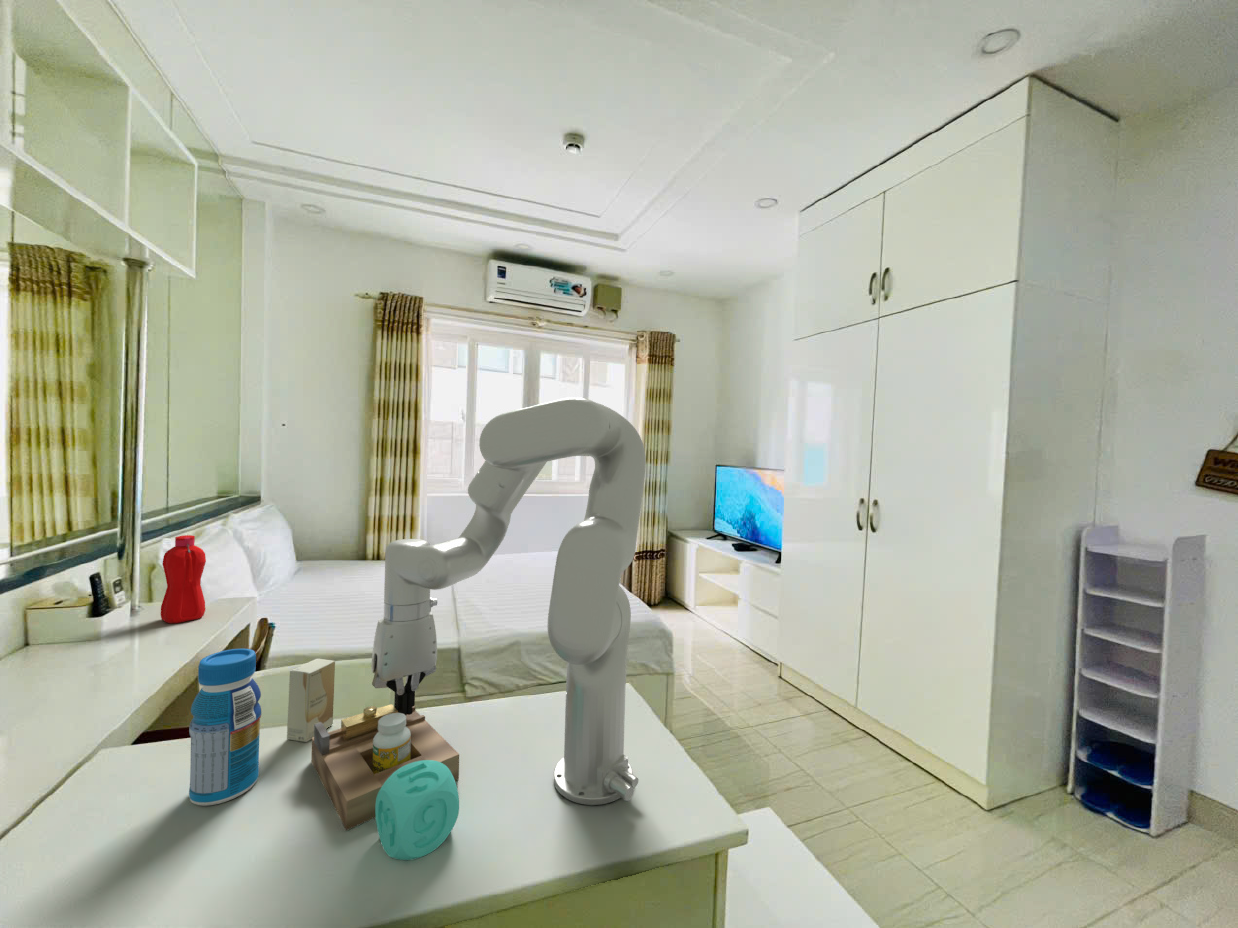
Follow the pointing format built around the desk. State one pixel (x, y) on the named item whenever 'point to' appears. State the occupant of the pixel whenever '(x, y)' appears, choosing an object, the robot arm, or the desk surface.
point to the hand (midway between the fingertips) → (404, 712)
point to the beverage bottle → (225, 728)
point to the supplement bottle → (391, 742)
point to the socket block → (370, 766)
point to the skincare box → (310, 698)
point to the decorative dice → (416, 809)
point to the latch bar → (364, 721)
